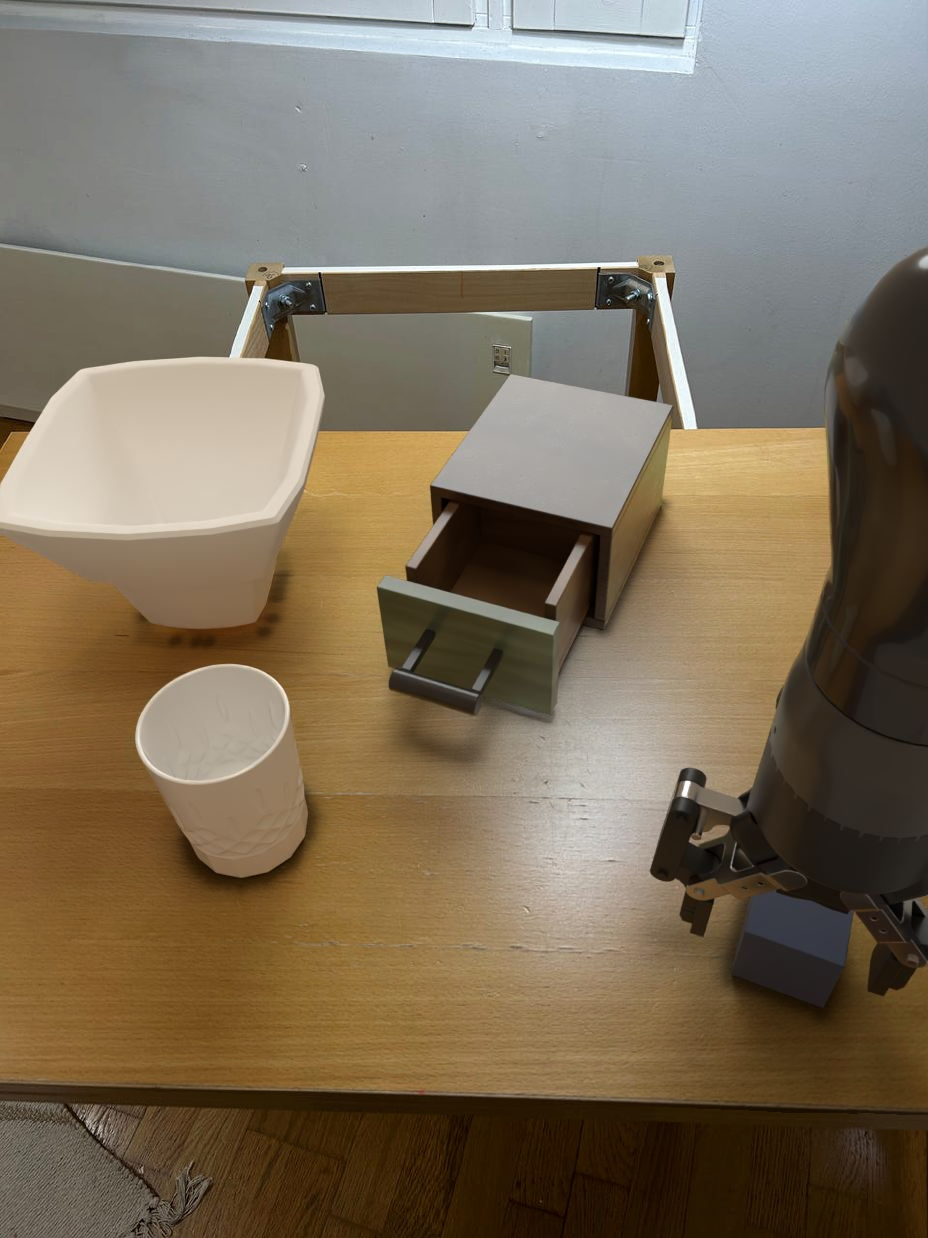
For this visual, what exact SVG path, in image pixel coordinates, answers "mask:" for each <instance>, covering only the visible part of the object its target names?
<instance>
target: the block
mask: <svg viewBox="0 0 928 1238" xmlns="http://www.w3.org/2000/svg"><path fill="white" fill-rule="evenodd" d="M854 914H855V912H854V911H849V913H848V915H847V914H844V913H841V912H837V911H834V910H831V909H828V908H826V907H824V906H822V905H820V904H818V903H815V902H813V901H809V900H803V899H797V898H792V897H789V896H785V895H782V894H779V893H776V890H774V891H770V892H766V893H763V894H759V895H756V896H752V897H749V900H748V903H747V908H746V911H745V916H744V920H743V924H742V927H741V931H740V935H739V939H738V943H737V947H736V951H735V955H734V959H733V964H732V967H731V971H730V975H732V976H734V977H737V978H740V979H743V980H746V981H747V982H751V983H753V984H756V985H759V986H761V987H764V988H767V989H770V990H773V991H775V992H778V993H781V994H783V995H786V996H788V997H792V998H794V999H797V1000H800V1001H802V1002H806V1003H807V1004H811V1005H814V1006H817V1007H819V1008H822V1009H824V1007H825V1006H826V1003H827V1001H828V1000H829V997H830V996H831V994H832V992H833V990H834V988H835V986H836V984H837V982H838V980H839V978H840V976H841V974H842V972H843V970H844V969H845V967H846V961H847V955H848V949H849V944H850V938H851V930H852V926H853V921H854Z"/></svg>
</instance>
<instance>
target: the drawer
mask: <svg viewBox="0 0 928 1238" xmlns="http://www.w3.org/2000/svg"><path fill="white" fill-rule="evenodd" d="M599 545H600V535H598V534H594V533H589V532H585V531H581V530H577V529H573V528H568V527H564V526H560V525H556V524H552V523H547V522H543V521H539V520H535V519H531V518H526V517H522V516H518V515H514V514H510V513H506V512H501V511H497V510H493V509H489V508H485V507H480V506H476V505H472V504H468V503H464V502H459V501H455V500H450V502H449V503H448V505H447V506H446V508H445V509H444V511H443V512H442V513H441V515H440V516H439V518H438V519H437V521H436V522H435V524H434V525H433V524H432V526H431V528H430V529H429V531H428V533H426V535H425V537H424V538H423V539H422V541H421V542H420V544H419V545H418V547H417V548H416V550H415V551H414V553H413V554H412V555H411V557H410V558H409V560H408V561H407V562H406V564H405V567H404V568H405V569H404V570H405V576H406V577H405V578H406V579H402V578H399V577H396V576H395V577H394V576H391V575H386V574H385V575H383V577H382V579H381V580H380V581H379V583H378V584H377V585H376V593H377V599H378V608H379V614H380V620H381V628H382V634H383V642H384V649H385V655H386V661H387V667H388V668H391V669H393V670H392V671H391V673H390V675H389V678H388V690H390V691H391V692H395V693H397V694H401V695H404V696H407V697H411V698H414V699H417V700H420V701H423V702H427V703H430V704H434V705H437V706H440V707H443V708H446V709H450V710H453V711H456V712H459V713H463V714H466V715H469V716H473V717H477V716H478V715H479V713H480V711H481V709H482V706H483V702H484V697H487V698H490V699H493V700H497V701H500V702H503V703H507V704H510V705H512V706H513V705H514V706H518V707H520V708H523V709H527V710H530V711H533V712H536V713H540V714H543V715H546V716H552V715H553V713H554V710H555V708H556V706H557V704H558V689H559V687H558V685H559V672H560V670H561V667H562V665H563V664H564V662H565V660H566V657H567V655H568V653H569V651H570V650H571V649H570V648H571V647H572V645H573V643H574V640H575V639H576V637H577V634H578V632H579V630H580V628H581V626H582V625H583V624H582V622H583V620H584V618H585V616H586V613H587V611H588V609H589V607H590V605H591V603H592V601H593V599H594V597H595V595H596V586H597V572H598V559H599Z"/></svg>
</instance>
